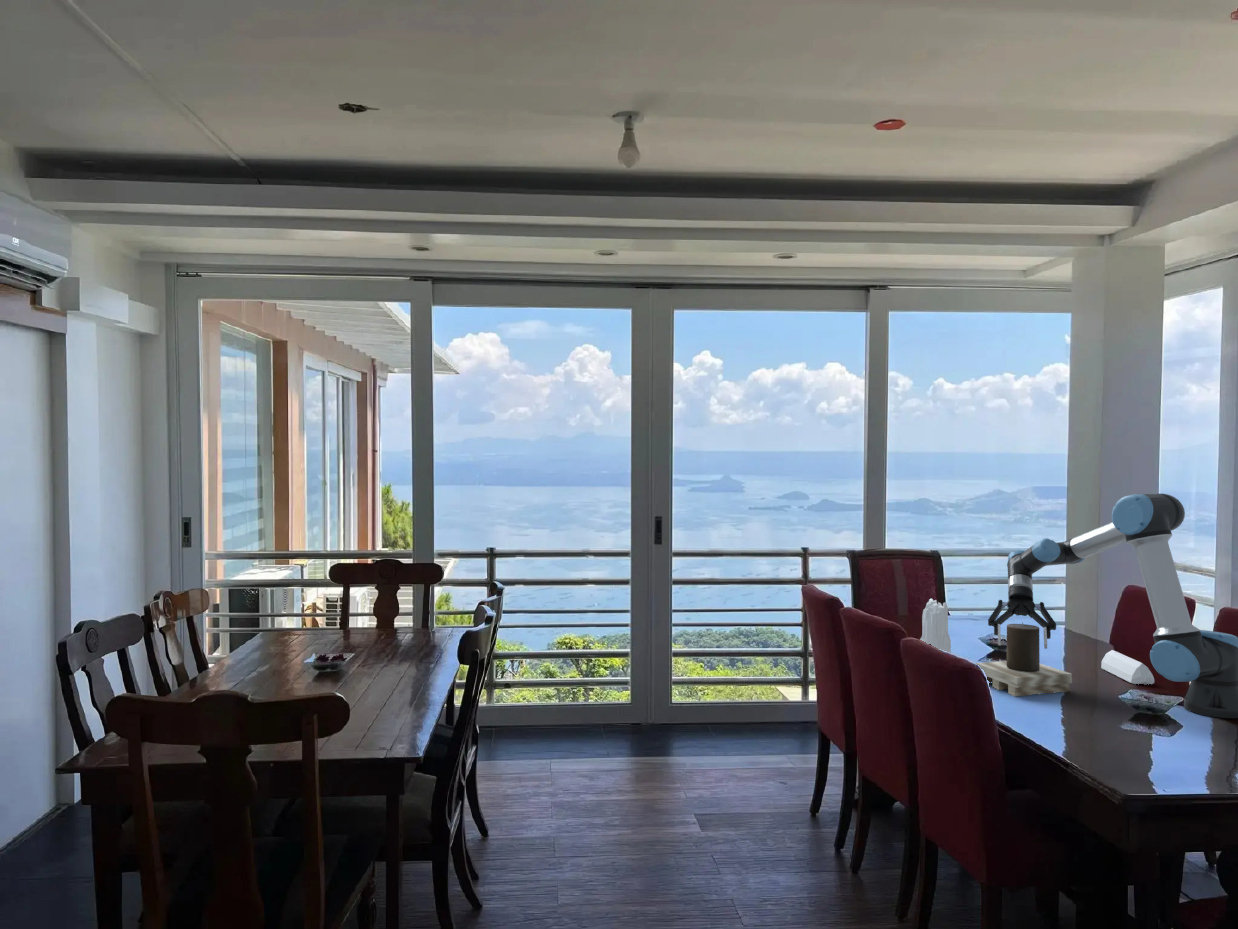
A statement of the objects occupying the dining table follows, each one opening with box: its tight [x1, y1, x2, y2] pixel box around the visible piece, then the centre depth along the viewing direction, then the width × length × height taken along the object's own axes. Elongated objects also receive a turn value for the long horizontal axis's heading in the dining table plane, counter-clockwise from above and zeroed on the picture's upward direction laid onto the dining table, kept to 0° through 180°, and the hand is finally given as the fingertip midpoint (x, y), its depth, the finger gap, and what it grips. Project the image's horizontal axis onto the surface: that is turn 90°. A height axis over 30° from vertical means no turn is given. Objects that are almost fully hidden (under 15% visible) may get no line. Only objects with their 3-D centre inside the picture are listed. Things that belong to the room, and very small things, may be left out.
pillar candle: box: [1006, 621, 1041, 672], centre depth 270 cm, size 10×10×15 cm
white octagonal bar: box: [1100, 649, 1155, 686], centre depth 281 cm, size 7×7×24 cm
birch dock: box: [975, 660, 1073, 697], centre depth 270 cm, size 20×20×6 cm
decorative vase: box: [919, 598, 952, 654], centre depth 291 cm, size 11×11×25 cm
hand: (1022, 644), depth 268 cm, fingers open, 13 cm apart
